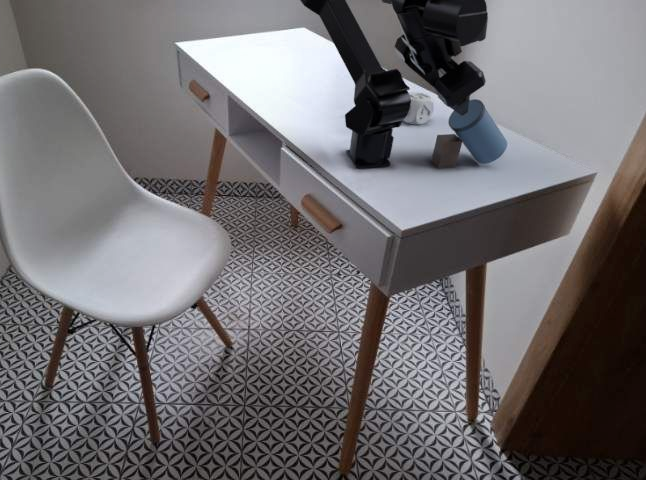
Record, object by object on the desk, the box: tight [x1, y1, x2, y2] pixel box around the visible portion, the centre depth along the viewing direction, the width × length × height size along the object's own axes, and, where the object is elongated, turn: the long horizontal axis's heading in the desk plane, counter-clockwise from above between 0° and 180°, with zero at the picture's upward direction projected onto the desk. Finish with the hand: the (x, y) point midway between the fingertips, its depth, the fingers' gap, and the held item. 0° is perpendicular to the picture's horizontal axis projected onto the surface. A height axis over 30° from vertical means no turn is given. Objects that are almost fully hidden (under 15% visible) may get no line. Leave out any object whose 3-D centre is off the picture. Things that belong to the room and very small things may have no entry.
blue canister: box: [448, 98, 508, 165], centre depth 90 cm, size 11×6×11 cm, turn 102°
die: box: [403, 91, 435, 126], centre depth 107 cm, size 5×5×5 cm
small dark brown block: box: [431, 133, 463, 169], centre depth 91 cm, size 3×3×5 cm
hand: (450, 99), depth 87 cm, fingers open, 9 cm apart
